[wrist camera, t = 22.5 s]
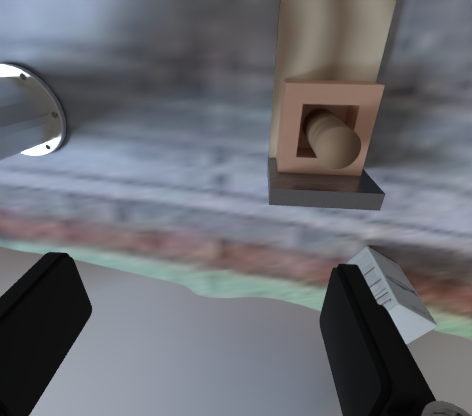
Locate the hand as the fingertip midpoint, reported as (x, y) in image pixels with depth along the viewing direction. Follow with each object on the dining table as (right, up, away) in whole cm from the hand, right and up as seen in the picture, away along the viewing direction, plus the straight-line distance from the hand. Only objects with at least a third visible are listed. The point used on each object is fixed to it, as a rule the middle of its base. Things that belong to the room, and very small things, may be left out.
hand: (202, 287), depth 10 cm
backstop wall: (+12, +10, +29) cm, 33 cm away
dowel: (+12, +13, +23) cm, 29 cm away
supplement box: (+25, -7, +38) cm, 46 cm away
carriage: (+12, +14, +24) cm, 30 cm away
